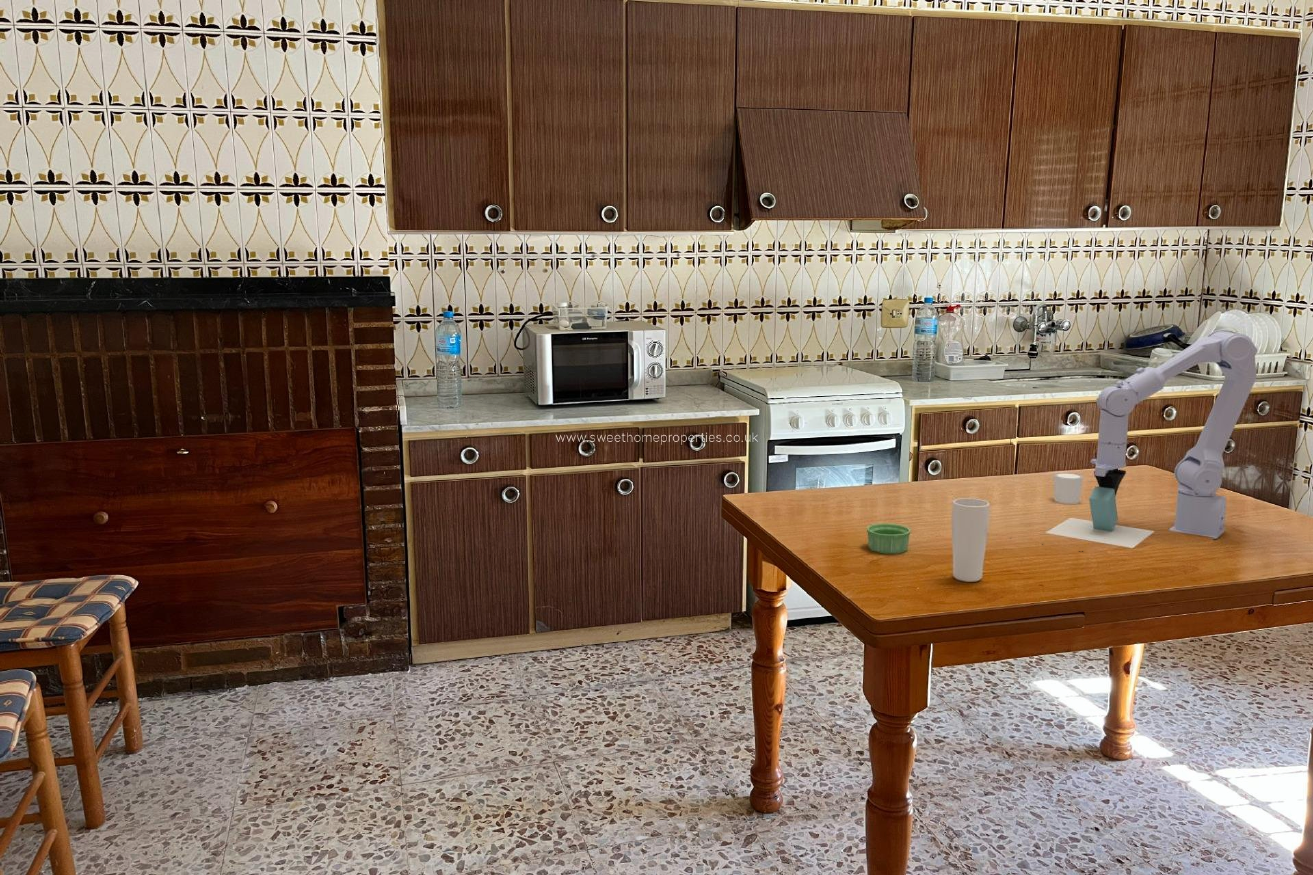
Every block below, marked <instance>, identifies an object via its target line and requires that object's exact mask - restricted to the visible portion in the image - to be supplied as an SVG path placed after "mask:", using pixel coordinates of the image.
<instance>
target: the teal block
mask: <svg viewBox="0 0 1313 875" xmlns="http://www.w3.org/2000/svg"><path fill="white" fill-rule="evenodd" d="M1088 500H1089V506H1090V507H1089V508H1090V512H1091V513H1090V514H1091V521H1092V522H1093V528H1094V529H1100V530H1106V531H1113V529H1114V527H1115V525H1117V523H1118V521H1119V517H1118V508H1117V502H1116V497H1115V491H1114V489H1111V488H1103V487H1099V486H1094V487H1093V490H1092V492H1091V494H1090V495H1089V499H1088Z"/></svg>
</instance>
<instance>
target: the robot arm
mask: <svg viewBox="0 0 1313 875" xmlns="http://www.w3.org/2000/svg"><path fill="white" fill-rule="evenodd" d="M1257 353H1258V349H1257V346H1256V345H1255V344H1254V342H1253V340H1252V338H1250V337H1249V336H1247V334H1243V333H1235V332H1228V331H1225V330H1223V329H1221V330H1219V329H1218V330H1214V331H1212V332H1210V333H1209V334H1208V335H1205V336H1202V337H1200V338H1199V339H1197V340H1196V341H1195V342H1194V343H1192V344H1191V345H1189V346H1187V347H1186V348H1185V349H1183V350H1181V351H1180V352H1179V353H1177V354H1176V355H1174V356H1173V357H1171V358H1169V359H1168V360H1167V361H1164V362H1163V363H1161V364H1160V365H1158V366H1157V367H1151V366H1146V367H1145V368H1144V367H1138V368H1137V369H1136V370H1135V371H1136V373H1134V374H1132V375H1131V376H1129V377H1127V378H1126V379H1123V380H1121V379H1120V380H1118V381H1116V385H1115V386H1114V385H1113V386H1108V387H1105V388H1104V389H1102V390H1101V392H1100V393H1099V395H1098V397H1097V398H1096V405H1097V406H1098V408H1099V410H1100V415H1099V422H1098V438H1097V449H1096V450H1097V451H1096V458H1092V459H1090V464H1094V465H1095V466H1094V470H1093V475H1094V477H1095V480H1096V482H1097V484H1098V485H1097V486H1098V487H1103V488H1111V489H1114V491H1115V498H1116V496H1117V493H1118V489H1119V487H1120V485H1121V483H1122V480H1123V479H1124V477H1125V476H1126V475H1127V471H1126V470H1123V469H1122V468H1126V467H1127V462H1126V458H1127V457H1126V456H1127V445H1128V444H1127V441H1128V440H1127V439H1128V429H1129V418H1130V417H1129V414H1131V413H1132V411H1134V408H1135V406H1136V405H1138V404H1140V403H1141V402H1143V401H1144V400H1146V399H1148V398H1149V397H1151V396H1153V395H1155V394H1156V393H1158V392H1161V391H1162V390H1163V389H1164V387H1165V384H1166V381H1169V380H1170V379H1172V378H1174V377H1175V376H1178V375H1179V374H1182V373H1183V372H1185V371H1186V370H1189V369H1190V368H1192V367H1194V366H1197V365H1199V364H1201V363H1215V364H1216V365H1217V366H1218V367H1219V369H1220V372H1222V374H1223V376H1224V381H1223V383H1222V385H1221V388H1220V390H1219V392H1218V394H1217V397H1216V399H1215V401H1214V404H1213V405H1212V408H1211V410H1210V412H1209V415H1208V417H1207V420H1206V422H1205V424H1204V426H1203V428H1202V430H1201V433H1200V435H1199V438H1198V440H1197V442H1196V444H1195V445H1194V446H1193V447H1192V448H1190V449H1189V450H1187V451H1186V454H1185V456H1184V457H1183V459H1182V460H1180V461H1179V462H1178V463H1177V464H1176V466H1175V468H1174V471H1173V472H1174V474H1173V475H1174V478H1175V480H1176V481H1177V482H1178V488H1177V494H1176V495H1177V496H1176V506H1175V508H1176V509H1175V516H1174V517H1175V518H1174V520H1175V521H1174V524H1173V526H1171V527H1170V528H1169V529H1168V531H1172V532H1178V533H1183V534H1190V535H1197V536H1203V537H1209V538H1212V539H1213V540H1216V539H1218V538H1219V537H1220V536H1222V534H1223V533H1224V532H1225V525H1226V524H1225V522H1226V515H1227V514H1226V513H1227V512H1226V511H1227V497H1226V496H1223V495H1219V494H1216V492H1217V491H1219V489H1220V488H1221V485H1222V482H1223V471H1224V469H1225V463H1224V462H1225V461H1224V458H1223V453H1224V451H1225V449H1226V447H1227V444H1228V443H1229V440H1230V438H1231V436H1232V433H1233V431H1234V429H1235V427H1236V424H1237V422H1238V420H1239V418H1240V415H1241V413H1242V411H1243V409H1244V407H1245V404H1246V403H1247V400H1248V397H1249V396H1250V394H1251V391H1252V389H1253V387H1254V384H1255V383H1256V380H1257V367H1256V364H1257V363H1256V356H1257Z"/></svg>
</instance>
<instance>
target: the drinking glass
mask: <svg viewBox="0 0 1313 875" xmlns="http://www.w3.org/2000/svg"><path fill="white" fill-rule="evenodd" d="M989 525H990V502H989V501H987V500H984V499H980V498H973V497H962V498H956V499H954V500H952V508H951V538H952V540H951V542H952V544H951V545H952V576H953V577H954V578H955V579H956V580H958V581H962V582H968V583H971V582H974V583H975V582H978V581H980V580H981V579H982V578H983V568H984V561H985V554H986V547H987V539H988V534H989V533H988V532H989V527H990V526H989Z"/></svg>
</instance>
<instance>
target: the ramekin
mask: <svg viewBox="0 0 1313 875" xmlns="http://www.w3.org/2000/svg"><path fill="white" fill-rule="evenodd" d="M911 531H912V530H911V529H910V528H909V527H908V526H905V525H902V524H897V523H875V524H870V525H867V527H866V533H867V544H868V548H869V550H870V551H873V552H875V553H878V552H879V554H885V555H886V554H887V555H890V554H891V555H894V554H895V555H897V554H902V553H905V552H907V550H908V549H909V540H910V535H911Z"/></svg>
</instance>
